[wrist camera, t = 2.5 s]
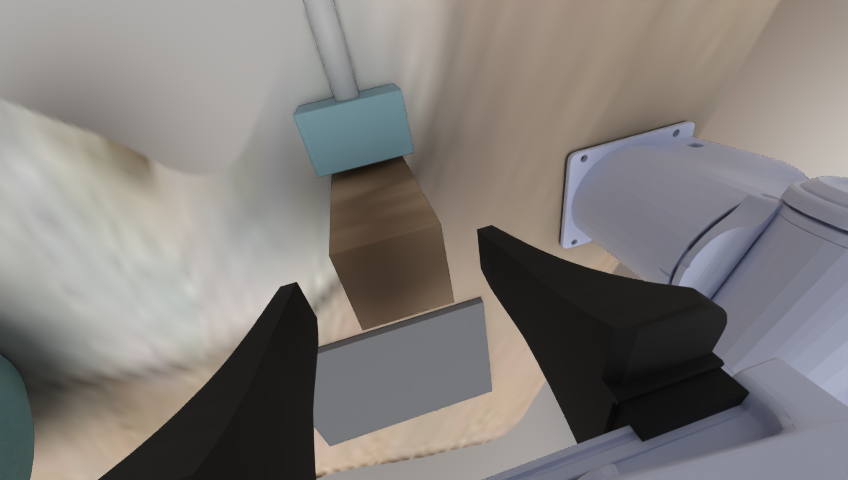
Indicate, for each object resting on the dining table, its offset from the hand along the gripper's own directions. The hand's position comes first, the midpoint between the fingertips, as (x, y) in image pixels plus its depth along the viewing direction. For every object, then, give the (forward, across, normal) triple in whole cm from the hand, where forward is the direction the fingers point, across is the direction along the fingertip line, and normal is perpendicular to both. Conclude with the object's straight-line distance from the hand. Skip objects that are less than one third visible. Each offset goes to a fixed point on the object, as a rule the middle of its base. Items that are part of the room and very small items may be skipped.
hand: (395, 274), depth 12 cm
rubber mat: (+8, +3, +19) cm, 21 cm away
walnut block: (+9, 0, 0) cm, 9 cm away
